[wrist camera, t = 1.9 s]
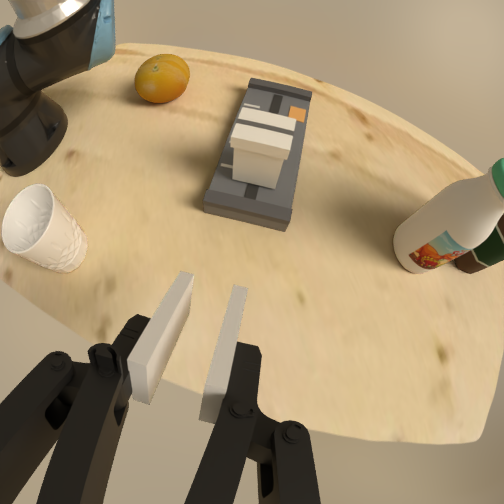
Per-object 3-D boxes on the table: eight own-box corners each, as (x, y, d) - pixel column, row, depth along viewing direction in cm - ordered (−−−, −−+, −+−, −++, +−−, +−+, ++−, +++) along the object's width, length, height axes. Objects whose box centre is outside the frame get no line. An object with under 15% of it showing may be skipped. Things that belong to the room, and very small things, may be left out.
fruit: (137, 115, 39) (126, 78, 32) (142, 86, 42) (134, 51, 34) (191, 107, 40) (187, 68, 33) (191, 79, 43) (188, 43, 35)
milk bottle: (381, 246, 35) (484, 163, 16) (406, 213, 37) (494, 132, 18) (418, 286, 34) (533, 232, 15) (439, 250, 36) (537, 188, 17)
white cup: (55, 218, 33) (17, 182, 23) (99, 224, 33) (64, 184, 23) (38, 272, 30) (-7, 247, 21) (83, 283, 30) (38, 259, 21)
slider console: (284, 231, 34) (290, 221, 32) (204, 212, 34) (202, 200, 32) (308, 104, 42) (312, 91, 40) (249, 91, 42) (250, 77, 39)
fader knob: (276, 192, 33) (290, 149, 26) (229, 180, 33) (230, 136, 26) (283, 162, 35) (296, 118, 27) (238, 151, 35) (242, 106, 27)
